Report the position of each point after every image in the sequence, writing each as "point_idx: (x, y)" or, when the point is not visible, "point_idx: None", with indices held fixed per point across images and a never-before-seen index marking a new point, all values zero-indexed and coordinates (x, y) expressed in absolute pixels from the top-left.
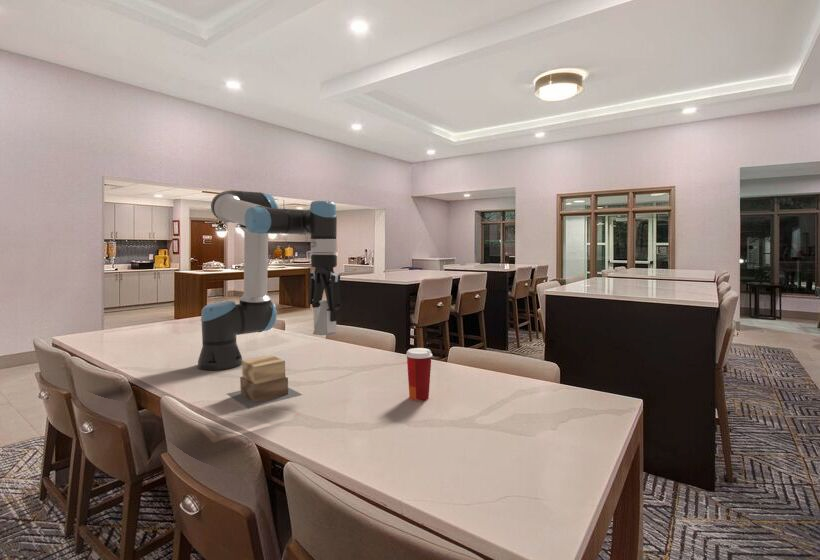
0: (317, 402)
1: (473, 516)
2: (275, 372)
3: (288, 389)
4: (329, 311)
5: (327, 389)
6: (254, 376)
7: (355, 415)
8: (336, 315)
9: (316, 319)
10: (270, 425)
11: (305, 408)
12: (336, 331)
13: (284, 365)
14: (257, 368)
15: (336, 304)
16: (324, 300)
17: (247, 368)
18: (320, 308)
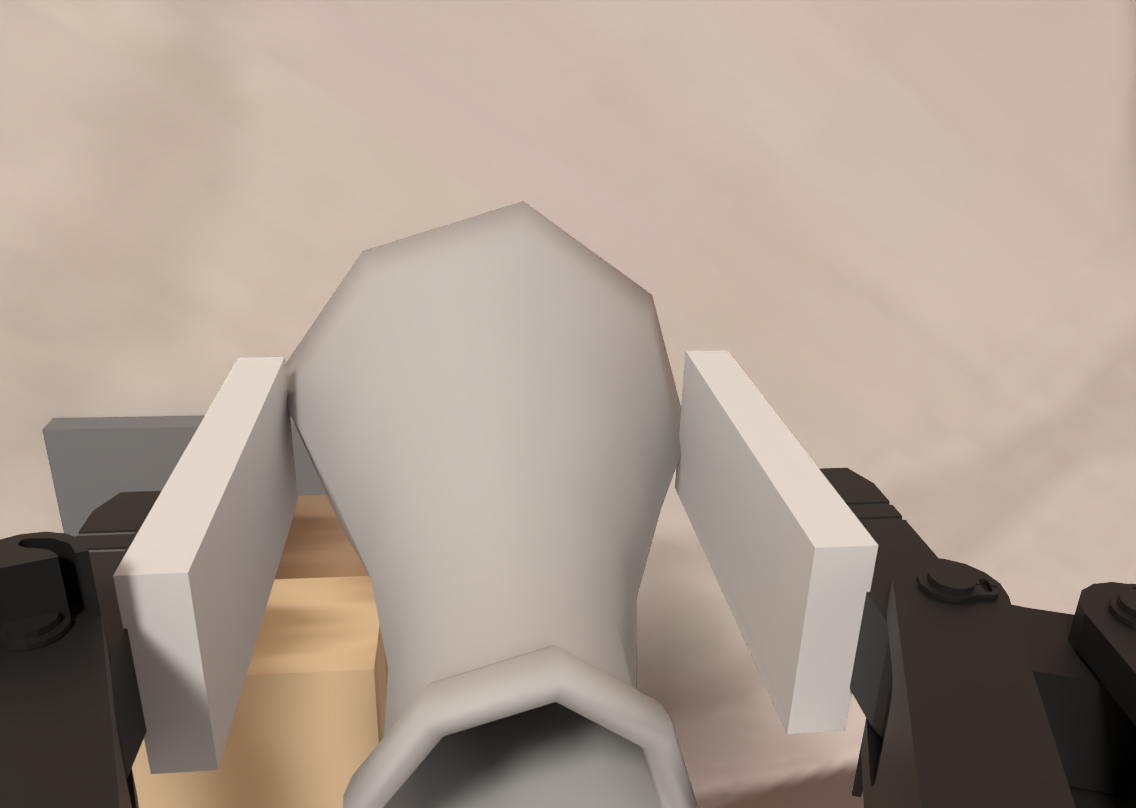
0: None
1: None
2: (386, 687)
3: (296, 445)
4: (842, 691)
5: (432, 165)
6: None
7: (1014, 317)
8: (912, 528)
9: (268, 562)
10: (744, 708)
11: (674, 483)
12: (564, 235)
13: (378, 647)
14: None
15: (1022, 667)
16: (405, 776)
17: None
18: (504, 765)
